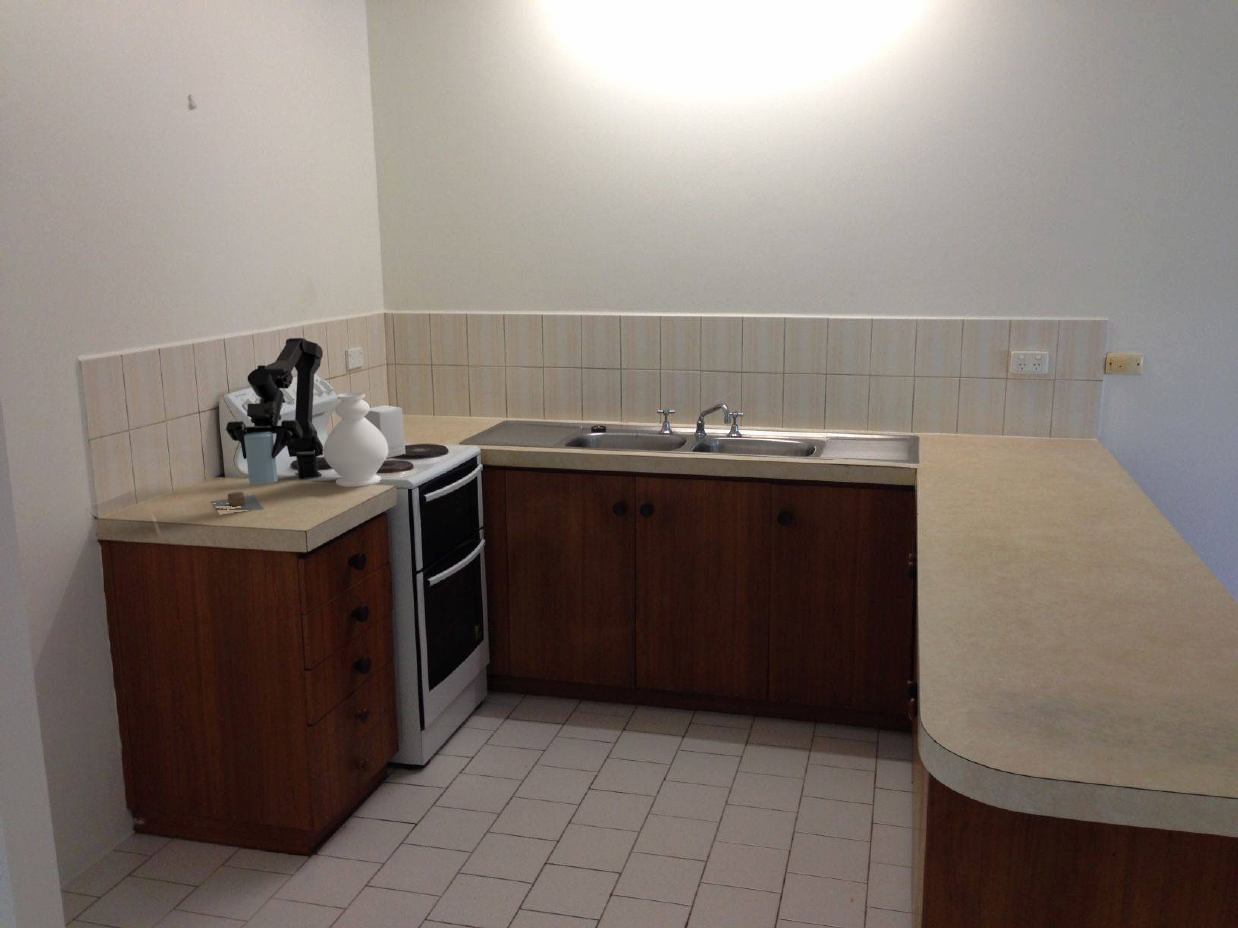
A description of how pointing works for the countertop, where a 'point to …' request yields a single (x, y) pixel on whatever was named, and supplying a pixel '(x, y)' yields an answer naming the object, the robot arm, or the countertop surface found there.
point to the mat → (249, 505)
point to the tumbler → (260, 458)
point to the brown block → (236, 499)
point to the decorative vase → (355, 443)
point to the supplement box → (389, 427)
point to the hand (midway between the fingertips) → (258, 457)
